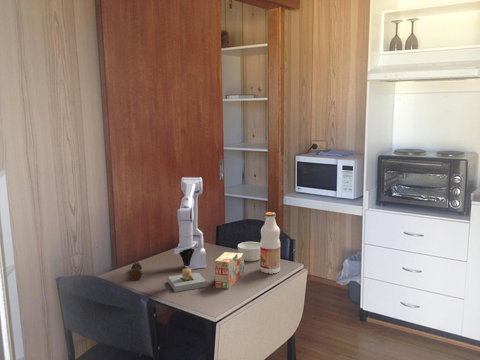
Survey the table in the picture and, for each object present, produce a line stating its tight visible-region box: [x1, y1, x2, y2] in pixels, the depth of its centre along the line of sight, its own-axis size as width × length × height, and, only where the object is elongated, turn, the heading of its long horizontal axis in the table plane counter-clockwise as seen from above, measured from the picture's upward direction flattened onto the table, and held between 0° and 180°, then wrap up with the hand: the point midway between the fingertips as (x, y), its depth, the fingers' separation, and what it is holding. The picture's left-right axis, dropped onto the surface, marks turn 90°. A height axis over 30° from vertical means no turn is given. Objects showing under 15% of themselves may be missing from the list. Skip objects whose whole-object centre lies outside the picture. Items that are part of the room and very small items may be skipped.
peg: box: [181, 267, 192, 282], centre depth 190 cm, size 4×4×6 cm
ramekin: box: [237, 241, 260, 262], centre depth 225 cm, size 13×13×7 cm
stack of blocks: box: [214, 251, 245, 290], centre depth 195 cm, size 21×6×12 cm, turn 162°
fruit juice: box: [259, 211, 281, 275], centre depth 204 cm, size 9×9×28 cm
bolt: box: [129, 262, 143, 281], centre depth 202 cm, size 6×5×15 cm
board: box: [167, 272, 208, 293], centre depth 190 cm, size 14×12×2 cm
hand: (186, 265), depth 189 cm, fingers closed
